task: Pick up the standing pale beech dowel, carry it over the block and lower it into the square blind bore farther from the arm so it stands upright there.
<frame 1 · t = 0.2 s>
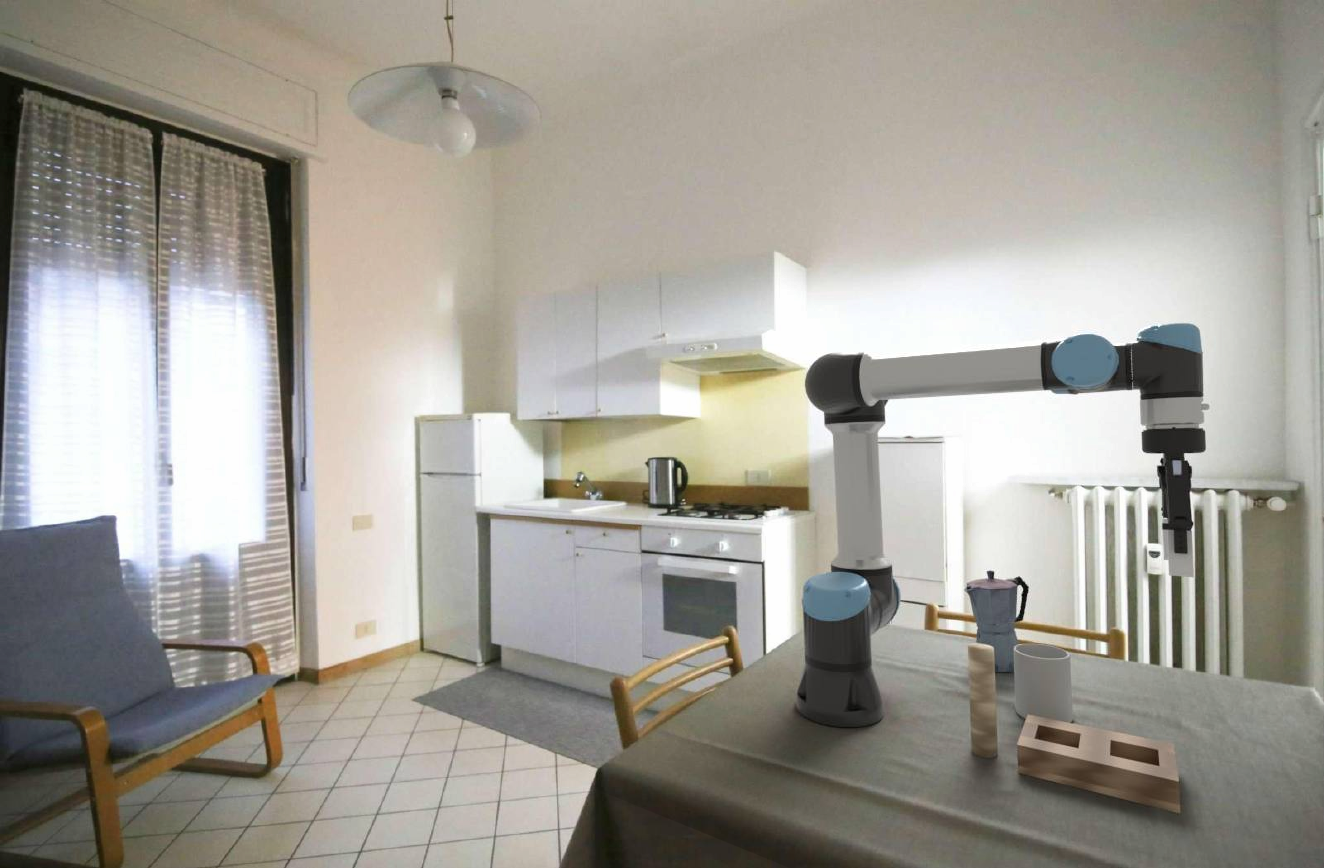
hand: (1177, 567, 95), 28 cm above the table, fingers open, 13 cm apart
moka pot: (999, 666, 133), on the table
bore block: (1095, 772, 90), on the table
mug: (1037, 711, 110), on the table
pin: (984, 752, 97), on the table
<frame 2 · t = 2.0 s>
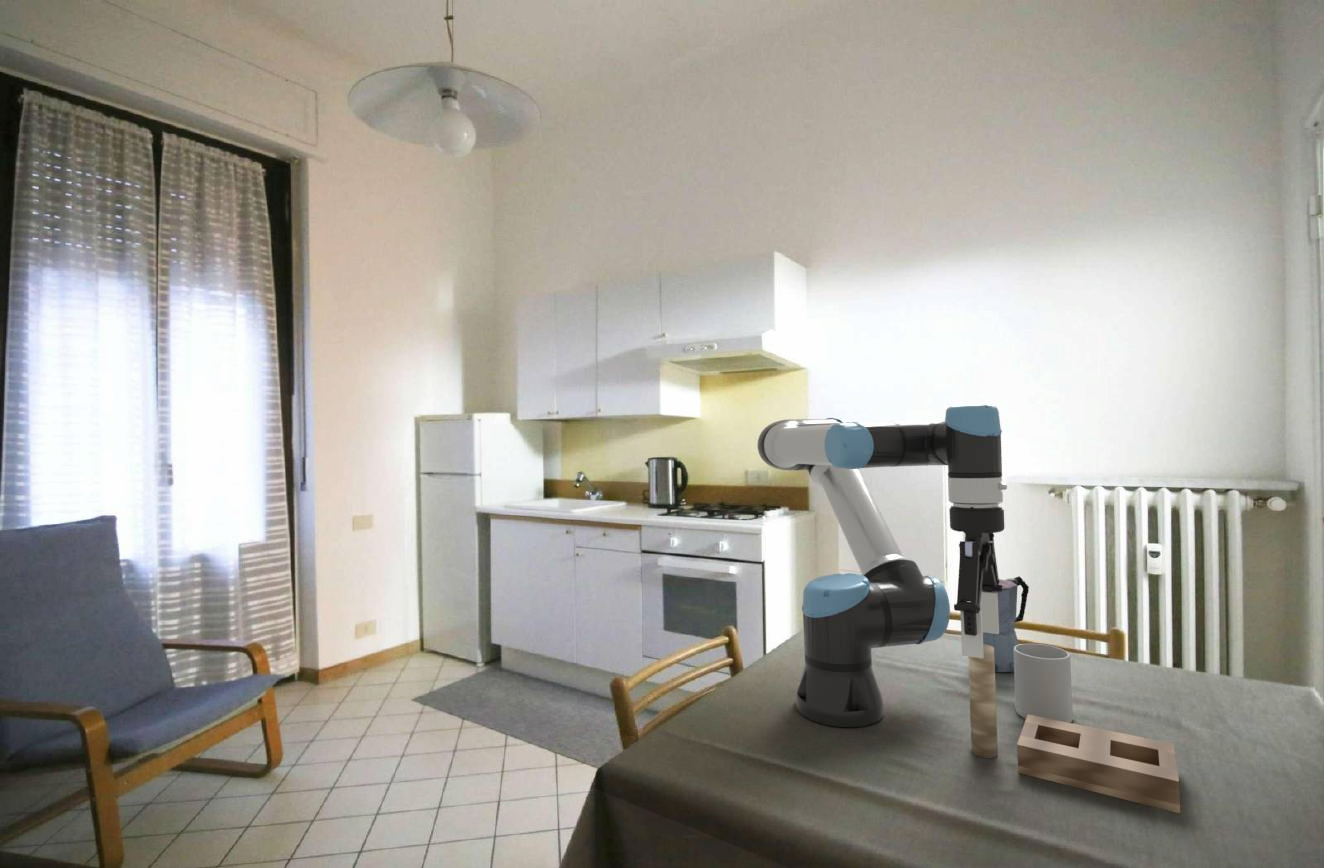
hand: (981, 644, 97), 16 cm above the table, fingers open, 13 cm apart
nothing on the table moved.
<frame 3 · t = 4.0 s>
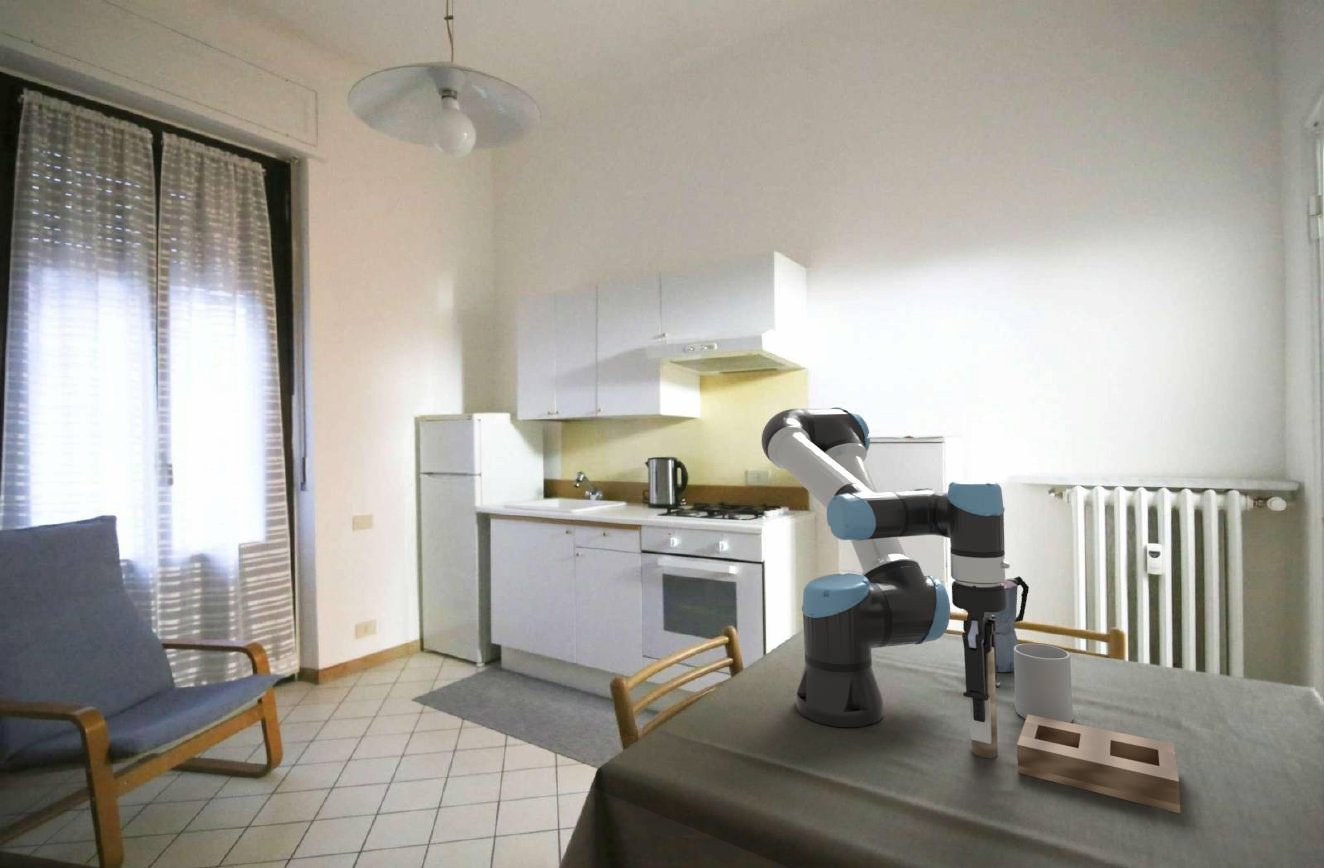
hand: (983, 734, 97), 3 cm above the table, fingers closed on pin, 3 cm apart
pin: (984, 752, 96), on the table, touching gripper
everything else where it was.
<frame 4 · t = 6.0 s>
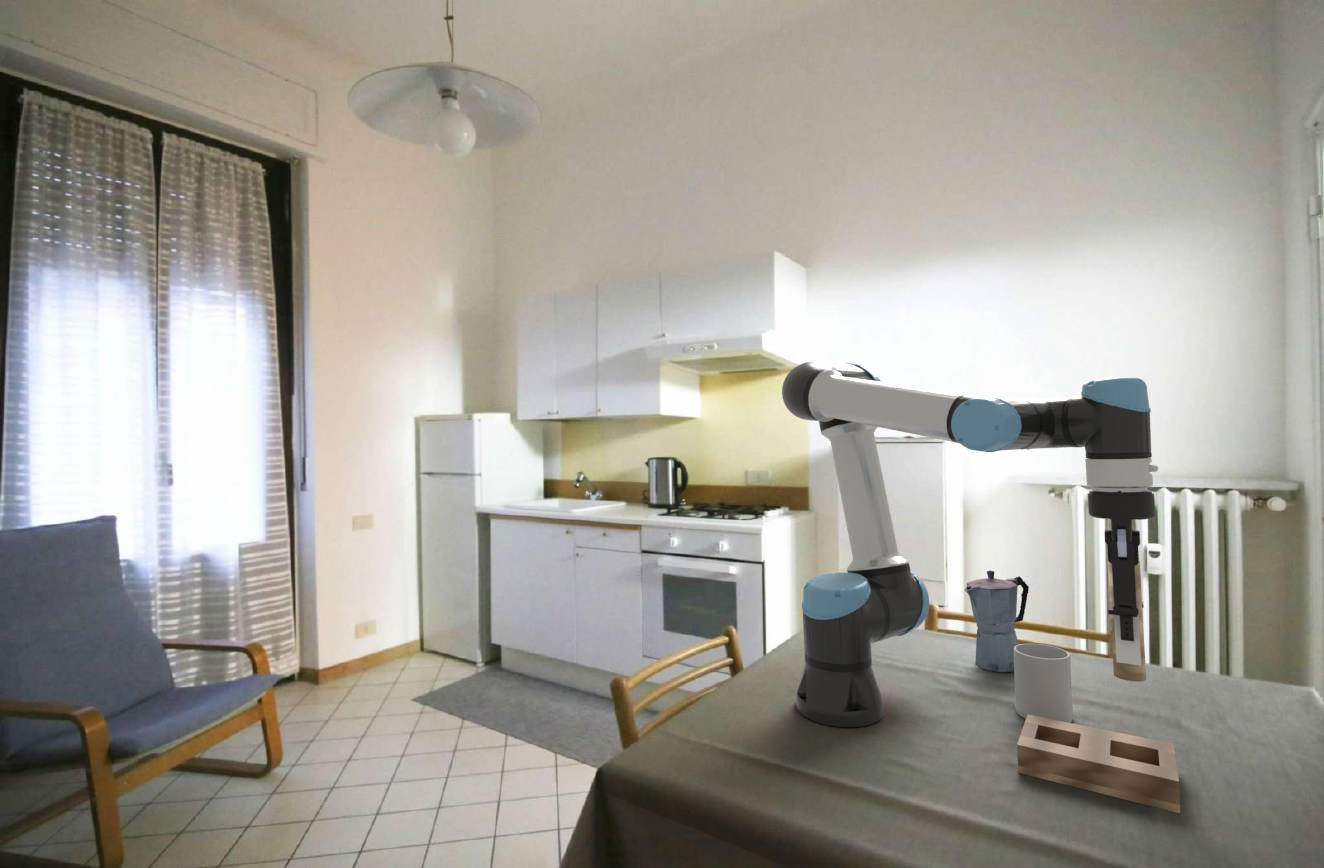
hand: (1128, 658, 87), 17 cm above the table, fingers closed on pin, 3 cm apart
pin: (1129, 676, 87), point 14 cm above the table, touching gripper
everything else where it was.
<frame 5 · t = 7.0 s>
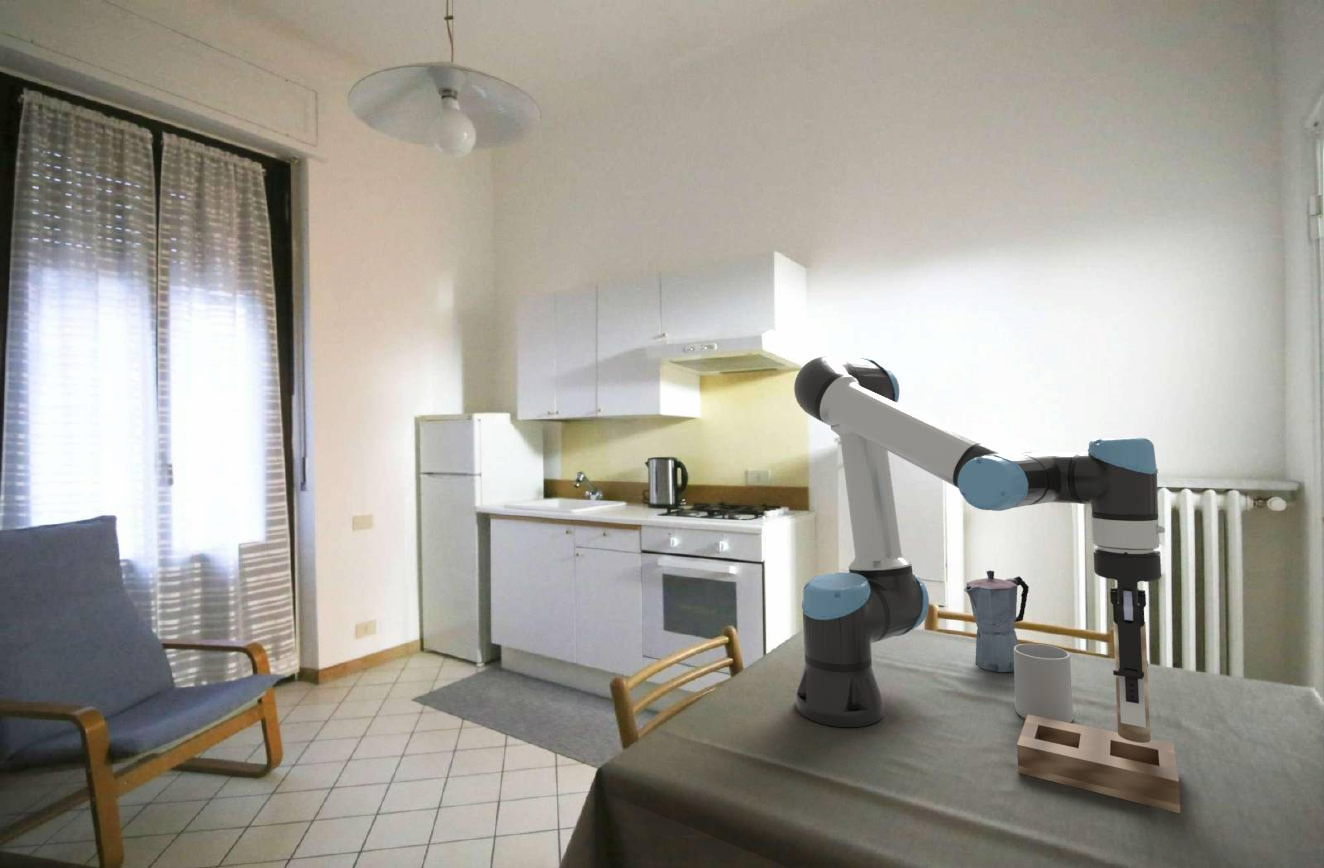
hand: (1133, 718, 87), 9 cm above the table, fingers closed on pin, 3 cm apart
pin: (1134, 736, 87), point 6 cm above the table, touching gripper
everything else where it was.
when the fingers open (5 cm above the table, at t = 8.0 s): pin drops 2 cm, resting on bore block.
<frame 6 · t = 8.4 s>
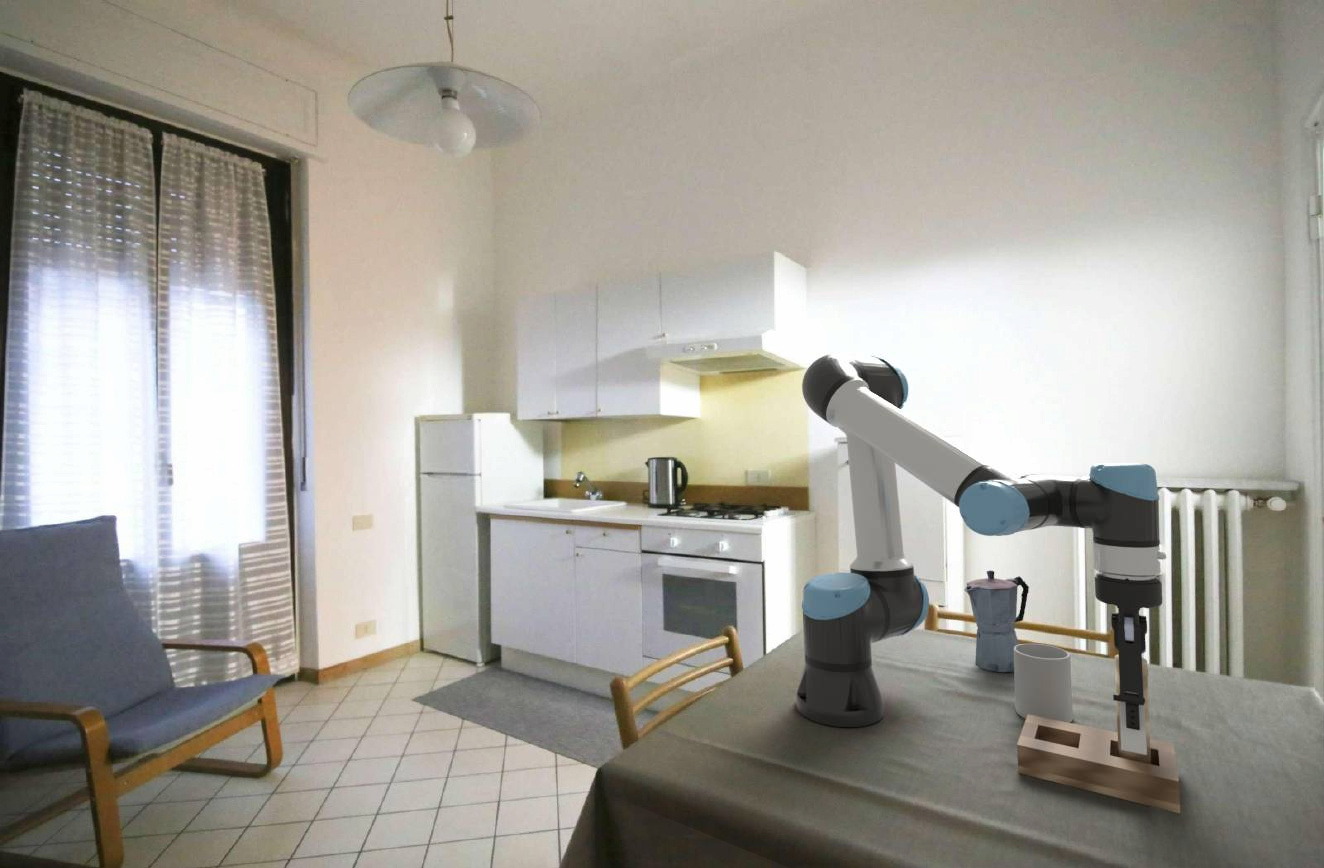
hand: (1133, 735, 87), 6 cm above the table, fingers open, 10 cm apart
pin: (1135, 774, 87), point 1 cm above the table, touching bore block
everything else where it was.
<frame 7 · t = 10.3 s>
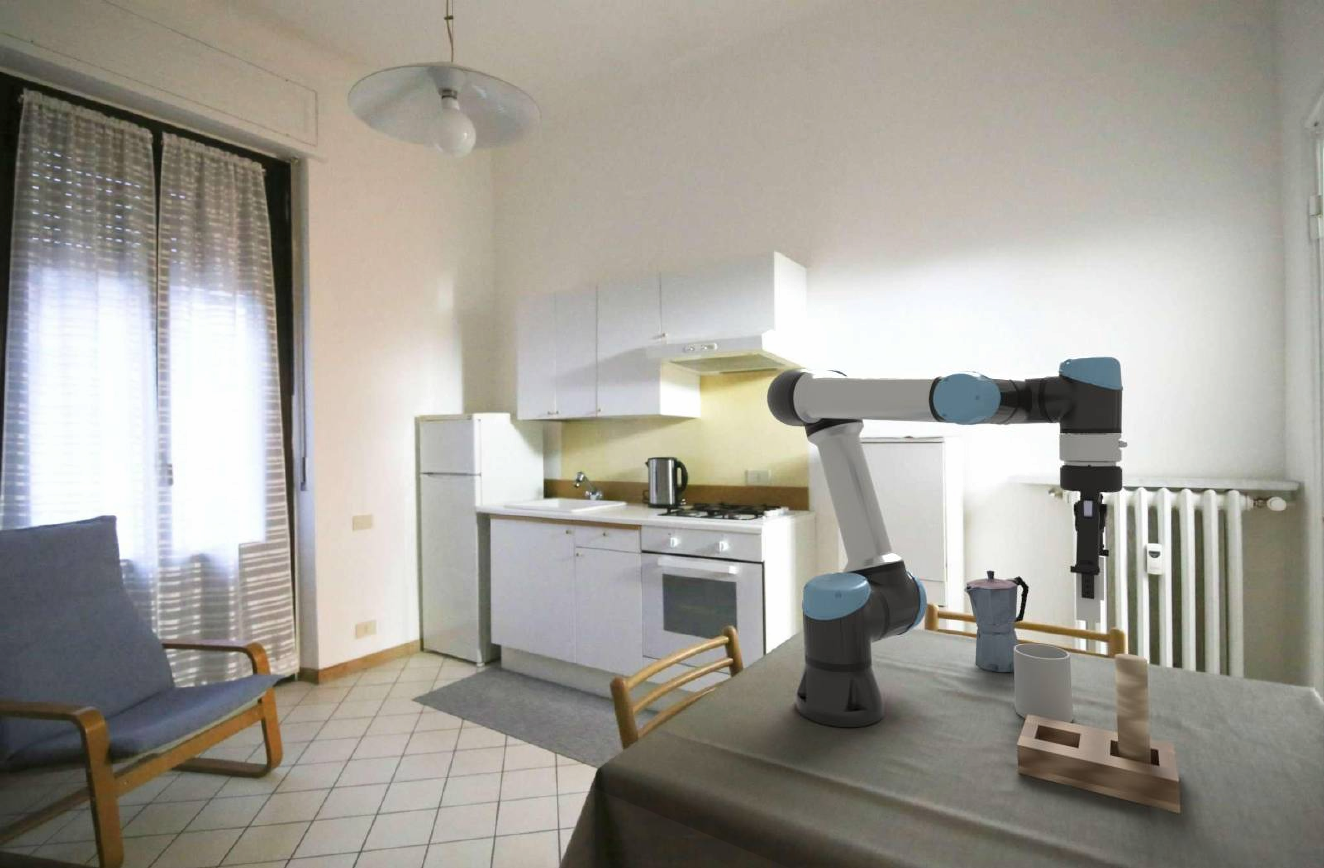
hand: (1091, 609, 92), 23 cm above the table, fingers open, 13 cm apart
nothing on the table moved.
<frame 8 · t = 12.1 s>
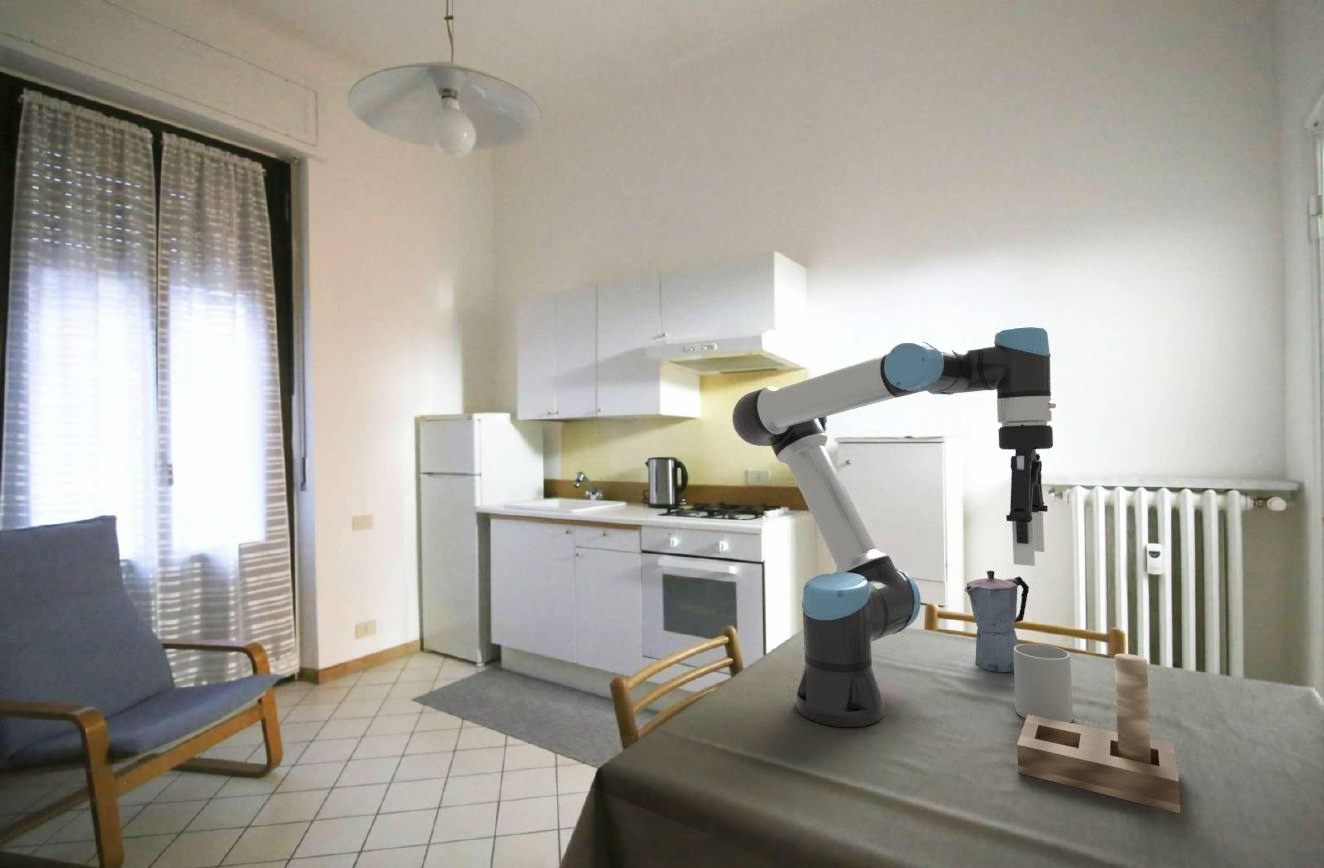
hand: (1029, 557, 101), 29 cm above the table, fingers open, 13 cm apart
nothing on the table moved.
at the end: pin 0.0 cm from the target spot on the bore block, point 1.0 cm above the bore block's base; pin tilted 0°; the gripper is holding nothing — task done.
